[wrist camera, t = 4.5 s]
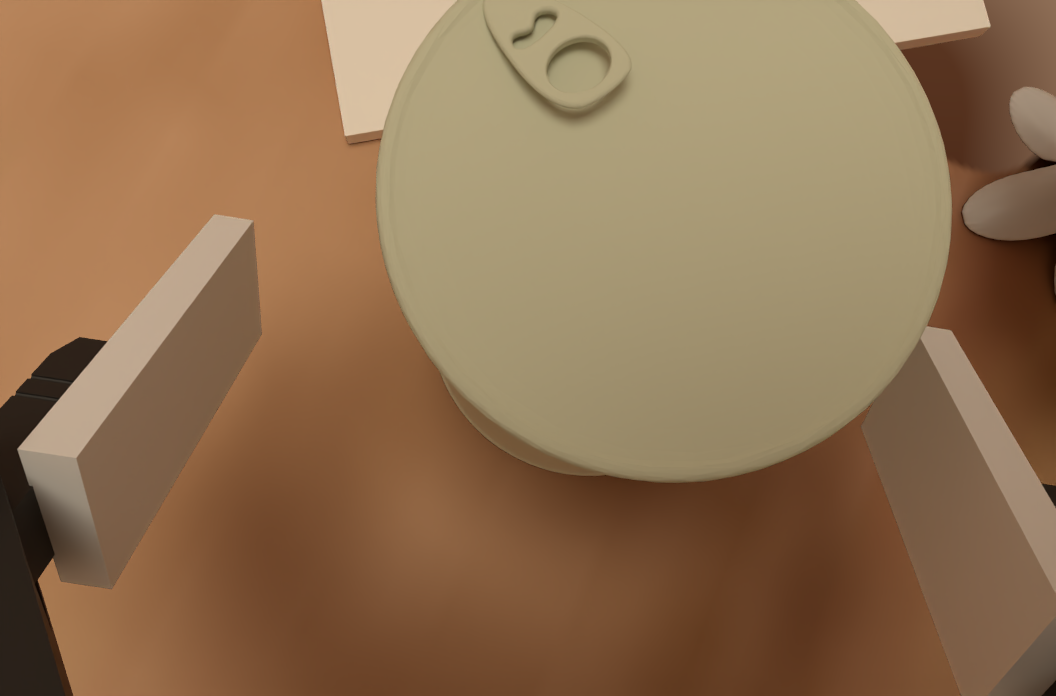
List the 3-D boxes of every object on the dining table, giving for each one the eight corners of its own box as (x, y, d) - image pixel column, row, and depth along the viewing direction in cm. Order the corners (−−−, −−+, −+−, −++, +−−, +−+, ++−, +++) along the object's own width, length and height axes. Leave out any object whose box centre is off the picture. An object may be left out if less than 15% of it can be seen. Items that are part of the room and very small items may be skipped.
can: (599, 108, 25) (691, -213, 13) (805, 333, 24) (1100, 208, 12) (365, 301, 24) (236, 142, 12) (574, 543, 23) (655, 626, 11)
